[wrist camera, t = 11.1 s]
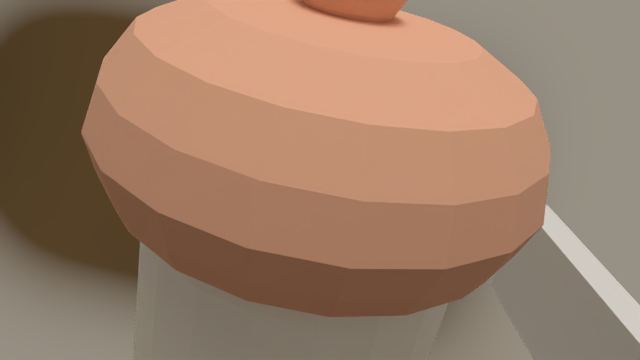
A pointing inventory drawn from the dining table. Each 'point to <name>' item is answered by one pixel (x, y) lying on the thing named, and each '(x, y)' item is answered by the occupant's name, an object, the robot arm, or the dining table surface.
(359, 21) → the pepper shaker
